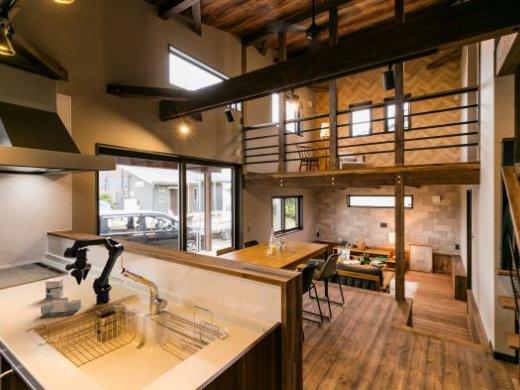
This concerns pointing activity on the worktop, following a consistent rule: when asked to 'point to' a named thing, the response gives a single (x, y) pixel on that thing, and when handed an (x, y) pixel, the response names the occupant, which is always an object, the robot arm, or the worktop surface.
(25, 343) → the worktop surface
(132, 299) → the worktop surface
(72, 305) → the din rail
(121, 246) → the robot arm
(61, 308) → the logic module
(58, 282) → the ink box
